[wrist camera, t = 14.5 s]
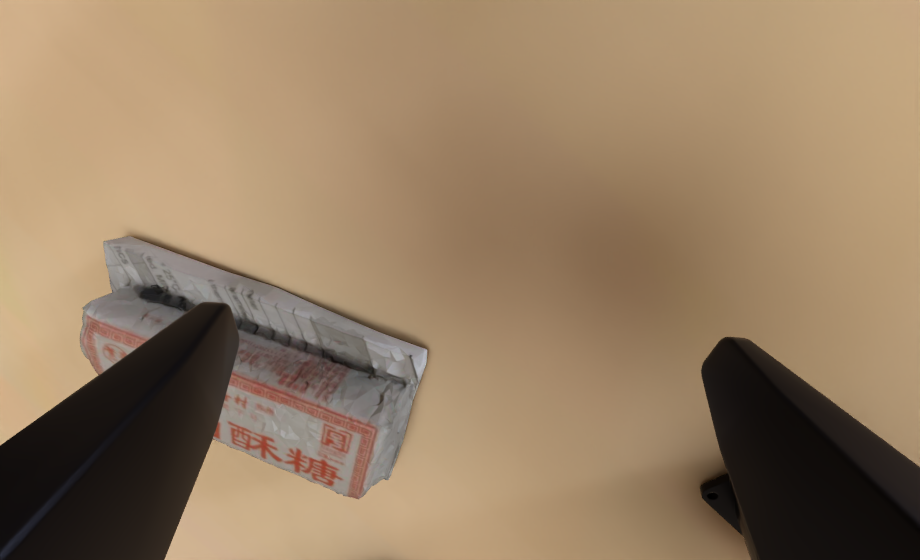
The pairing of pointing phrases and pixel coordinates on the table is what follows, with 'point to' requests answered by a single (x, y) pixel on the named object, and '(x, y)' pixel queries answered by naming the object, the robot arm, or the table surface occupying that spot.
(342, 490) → the packaged product
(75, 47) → the table surface
